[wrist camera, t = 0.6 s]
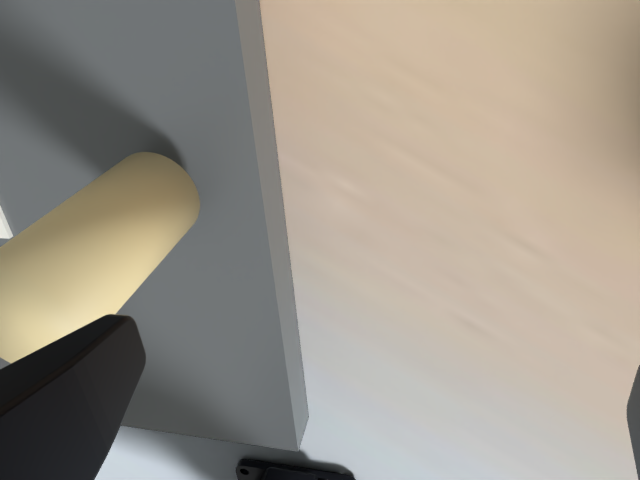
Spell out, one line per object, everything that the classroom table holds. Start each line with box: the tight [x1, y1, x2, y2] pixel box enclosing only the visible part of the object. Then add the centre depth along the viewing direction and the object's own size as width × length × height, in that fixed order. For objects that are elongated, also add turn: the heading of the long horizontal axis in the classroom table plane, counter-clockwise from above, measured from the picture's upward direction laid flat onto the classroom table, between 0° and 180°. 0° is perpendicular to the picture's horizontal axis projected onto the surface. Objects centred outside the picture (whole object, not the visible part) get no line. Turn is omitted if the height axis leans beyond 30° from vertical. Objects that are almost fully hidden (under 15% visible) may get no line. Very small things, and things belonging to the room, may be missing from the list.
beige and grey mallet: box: [0, 152, 200, 369], centre depth 18 cm, size 16×5×7 cm, turn 144°
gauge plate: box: [0, 0, 309, 452], centre depth 21 cm, size 24×22×2 cm
